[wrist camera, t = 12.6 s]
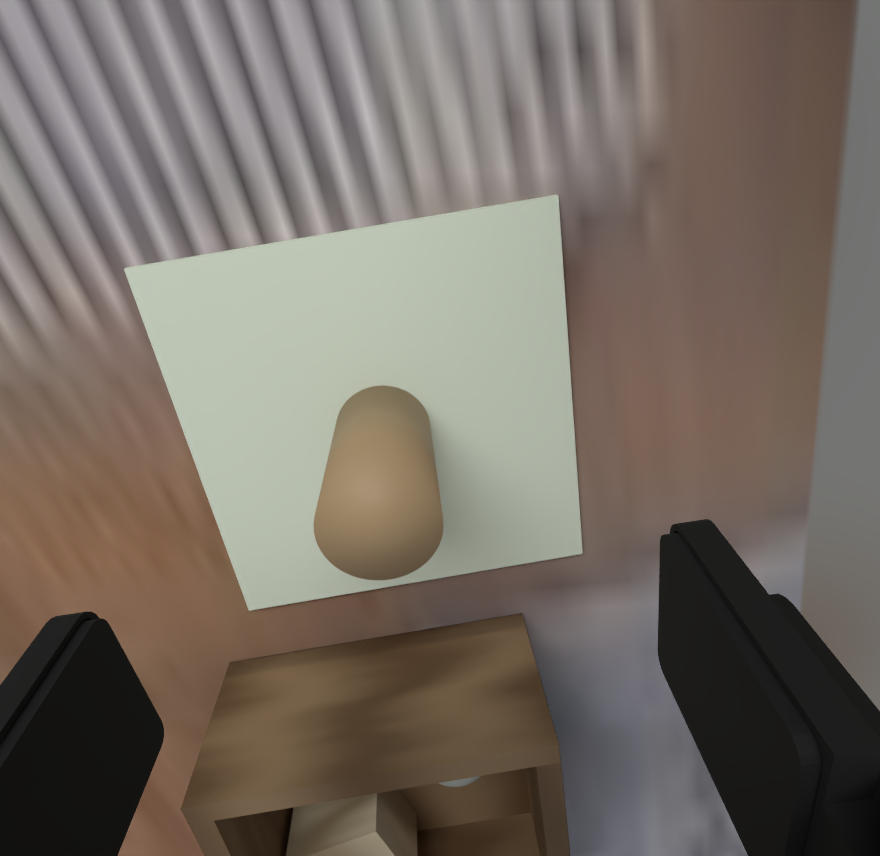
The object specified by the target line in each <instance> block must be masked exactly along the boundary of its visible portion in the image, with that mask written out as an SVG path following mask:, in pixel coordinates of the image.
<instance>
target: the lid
mask: <svg viewBox="0 0 880 856" xmlns="http://www.w3.org/2000/svg"><path fill="white" fill-rule="evenodd" d="M124 270H125V273H126V276H127V278H128V281H129V284H130V287H131V289H132V292H133V295H134V298H135V300H136V303H137V306H138V309H139V311H140V314H141V317H142V320H143V322H144V325H145V328H146V330H147V333H148V336H149V339H150V341H151V344H152V347H153V350H154V352H155V355H156V358H157V361H158V363H159V366H160V369H161V371H162V374H163V377H164V380H165V382H166V385H167V388H168V391H169V393H170V396H171V399H172V402H173V404H174V407H175V410H176V412H177V415H178V418H179V421H180V423H181V426H182V429H183V432H184V434H185V437H186V440H187V443H188V445H189V448H190V451H191V454H192V456H193V459H194V462H195V464H196V467H197V470H198V473H199V475H200V478H201V481H202V484H203V486H204V489H205V492H206V495H207V497H208V500H209V503H210V505H211V508H212V511H213V514H214V516H215V519H216V522H217V525H218V527H219V530H220V533H221V536H222V538H223V541H224V544H225V546H226V549H227V552H228V555H229V557H230V560H231V563H232V566H233V568H234V571H235V574H236V577H237V579H238V582H239V585H240V588H241V590H242V593H243V596H244V598H245V601H246V604H247V607H248V609H249V611H250V610H256V609H262V608H268V607H274V606H279V605H285V604H291V603H297V602H303V601H309V600H315V599H320V598H326V597H332V596H338V595H344V594H350V593H356V592H361V591H367V590H373V589H379V588H385V587H391V586H397V585H402V584H408V583H414V582H420V581H426V580H432V579H438V578H443V577H449V576H455V575H461V574H467V573H473V572H479V571H484V570H490V569H496V568H502V567H508V566H514V565H520V564H526V563H531V562H537V561H543V560H549V559H555V558H561V557H567V556H572V555H578V554H583V551H582V536H581V522H580V507H579V492H578V478H577V463H576V448H575V434H574V419H573V404H572V389H571V375H570V360H569V345H568V331H567V316H566V301H565V287H564V272H563V257H562V242H561V228H560V213H559V198H558V195H551V196H546V197H540V198H534V199H528V200H522V201H516V202H510V203H504V204H498V205H493V206H487V207H481V208H475V209H469V210H463V211H457V212H451V213H445V214H440V215H434V216H428V217H422V218H416V219H410V220H404V221H398V222H392V223H387V224H381V225H375V226H369V227H363V228H357V229H351V230H345V231H339V232H334V233H328V234H322V235H316V236H310V237H304V238H298V239H292V240H286V241H281V242H275V243H269V244H263V245H257V246H251V247H245V248H239V249H233V250H228V251H222V252H216V253H210V254H204V255H198V256H192V257H186V258H180V259H175V260H169V261H163V262H157V263H151V264H145V265H139V266H133V267H128V268H125V269H124Z"/></svg>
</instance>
